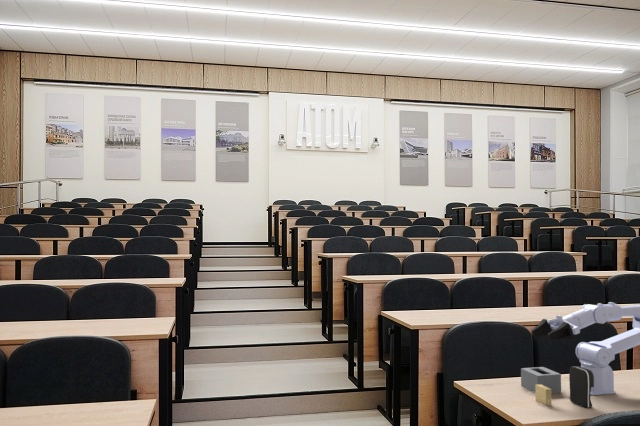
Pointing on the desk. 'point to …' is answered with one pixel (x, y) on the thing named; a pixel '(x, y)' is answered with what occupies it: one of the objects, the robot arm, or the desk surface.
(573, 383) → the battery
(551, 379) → the coin box
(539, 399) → the beige flat block
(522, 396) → the desk surface
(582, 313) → the robot arm
